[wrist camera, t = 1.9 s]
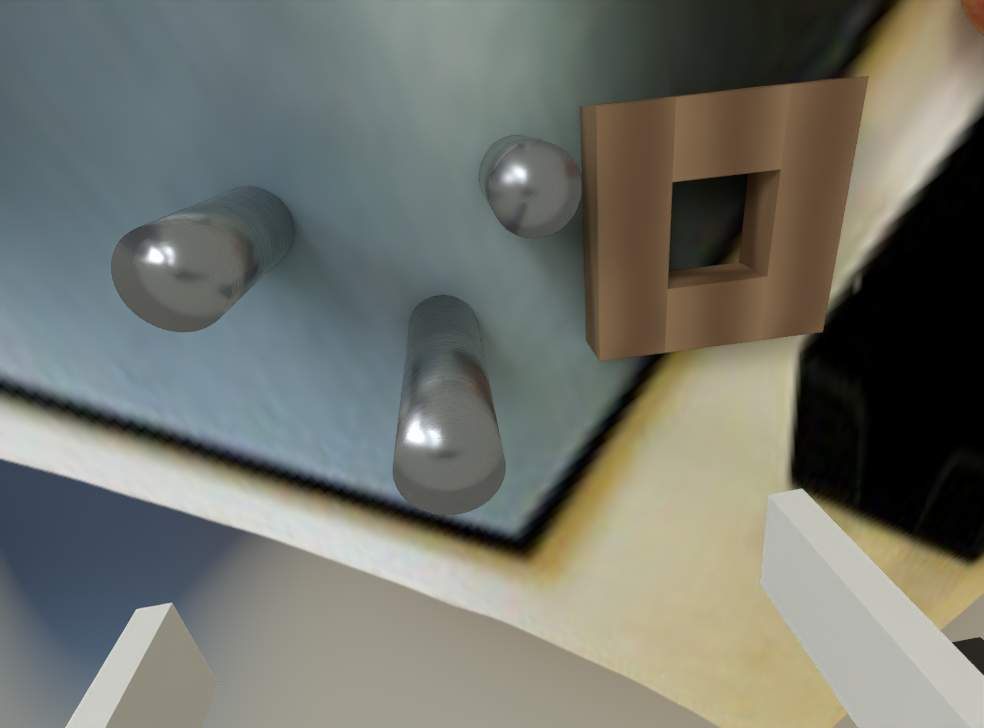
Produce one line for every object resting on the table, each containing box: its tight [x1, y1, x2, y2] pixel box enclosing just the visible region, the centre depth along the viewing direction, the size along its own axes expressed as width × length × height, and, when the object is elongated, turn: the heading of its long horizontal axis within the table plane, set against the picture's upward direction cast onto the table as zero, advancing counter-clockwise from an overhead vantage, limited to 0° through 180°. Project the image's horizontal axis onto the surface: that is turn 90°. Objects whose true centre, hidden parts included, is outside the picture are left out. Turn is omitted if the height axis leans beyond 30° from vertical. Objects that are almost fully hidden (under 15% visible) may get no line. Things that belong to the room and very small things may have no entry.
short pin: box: [479, 135, 582, 238], centre depth 26 cm, size 4×4×6 cm
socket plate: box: [580, 76, 869, 361], centre depth 29 cm, size 13×13×3 cm
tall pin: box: [393, 295, 505, 515], centre depth 26 cm, size 4×4×14 cm
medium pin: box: [111, 187, 294, 332], centre depth 24 cm, size 4×4×10 cm
